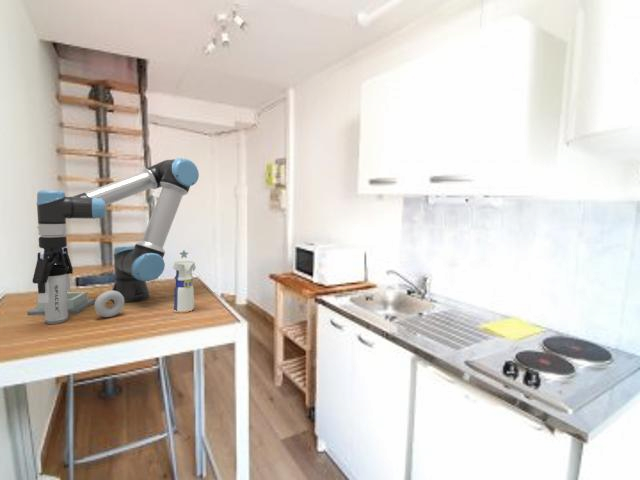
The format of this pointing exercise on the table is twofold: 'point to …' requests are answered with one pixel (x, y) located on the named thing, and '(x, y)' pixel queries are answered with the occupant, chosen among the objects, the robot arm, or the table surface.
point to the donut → (104, 298)
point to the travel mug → (57, 296)
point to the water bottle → (184, 284)
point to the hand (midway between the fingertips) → (55, 296)
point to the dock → (74, 304)
